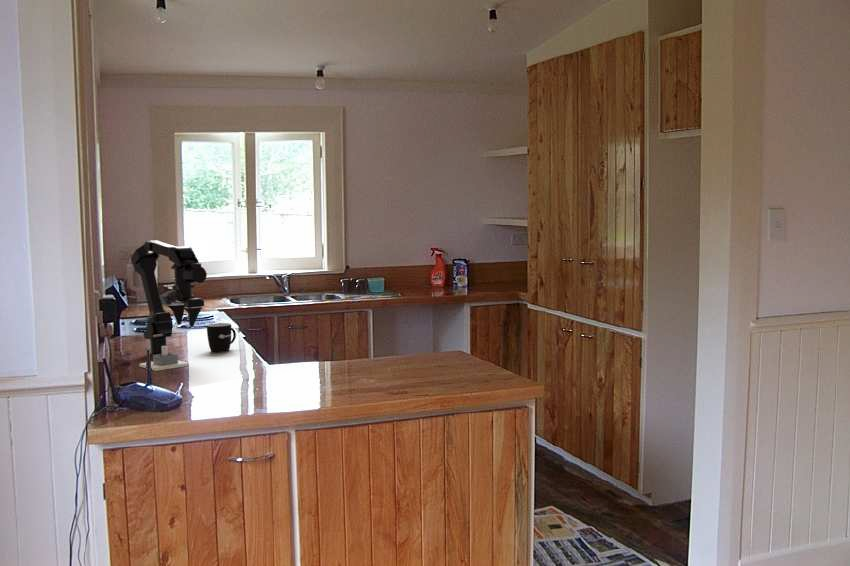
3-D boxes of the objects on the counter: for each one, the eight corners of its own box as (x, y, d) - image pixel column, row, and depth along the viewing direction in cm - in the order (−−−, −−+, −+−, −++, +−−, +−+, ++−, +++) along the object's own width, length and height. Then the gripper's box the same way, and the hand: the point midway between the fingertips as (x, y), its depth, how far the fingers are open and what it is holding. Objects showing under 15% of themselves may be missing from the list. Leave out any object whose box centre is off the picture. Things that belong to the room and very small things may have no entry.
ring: (153, 363, 279) (152, 355, 279) (169, 361, 283) (169, 352, 283) (161, 365, 275) (160, 357, 274) (178, 363, 279) (177, 354, 278)
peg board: (139, 366, 280) (138, 346, 279) (172, 361, 288) (171, 341, 287) (155, 370, 271) (154, 350, 270) (188, 365, 279) (187, 345, 279)
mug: (218, 354, 302) (216, 326, 301) (202, 352, 307) (201, 325, 307) (243, 349, 312) (242, 323, 311) (228, 347, 317) (227, 321, 316)
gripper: (149, 282, 292) (152, 326, 293) (174, 285, 278) (176, 330, 279) (179, 280, 299) (181, 322, 301) (204, 282, 286) (206, 327, 287)
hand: (185, 325), depth 292 cm, fingers open, 9 cm apart
